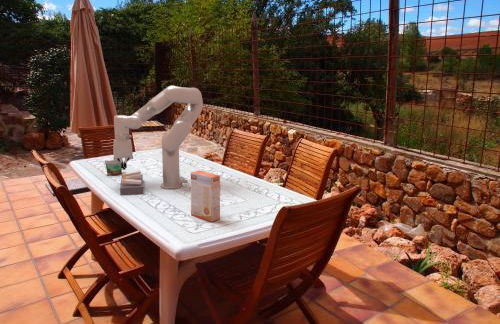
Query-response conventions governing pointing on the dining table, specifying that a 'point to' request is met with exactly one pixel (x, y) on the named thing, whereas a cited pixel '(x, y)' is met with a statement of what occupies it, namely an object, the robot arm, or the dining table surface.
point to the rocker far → (131, 173)
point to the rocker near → (131, 181)
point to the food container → (113, 167)
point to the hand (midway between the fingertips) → (124, 169)
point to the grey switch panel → (131, 187)
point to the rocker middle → (133, 176)
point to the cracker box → (205, 195)
